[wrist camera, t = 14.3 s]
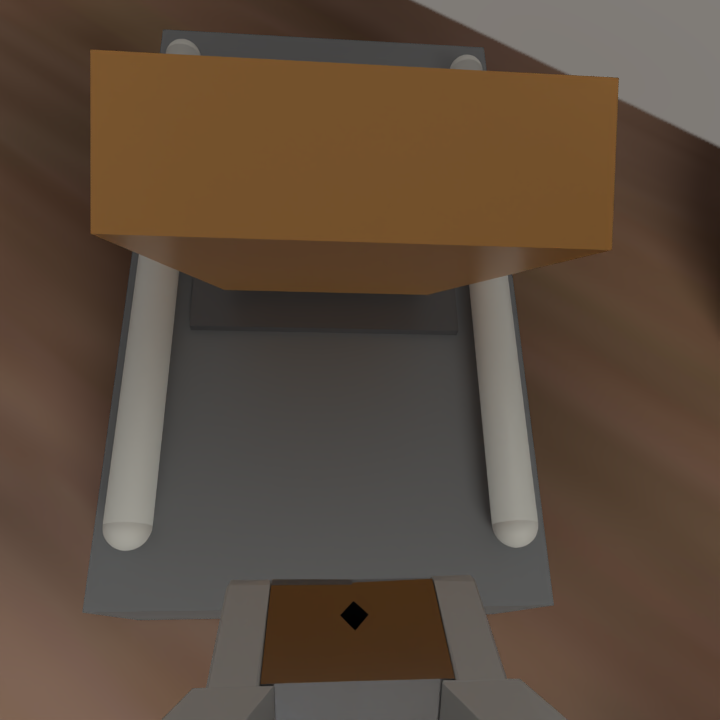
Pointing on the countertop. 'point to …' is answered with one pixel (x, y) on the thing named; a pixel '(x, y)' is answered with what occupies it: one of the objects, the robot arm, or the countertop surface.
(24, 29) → the countertop surface
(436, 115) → the lever
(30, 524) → the countertop surface
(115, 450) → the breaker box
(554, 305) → the countertop surface
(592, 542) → the countertop surface
